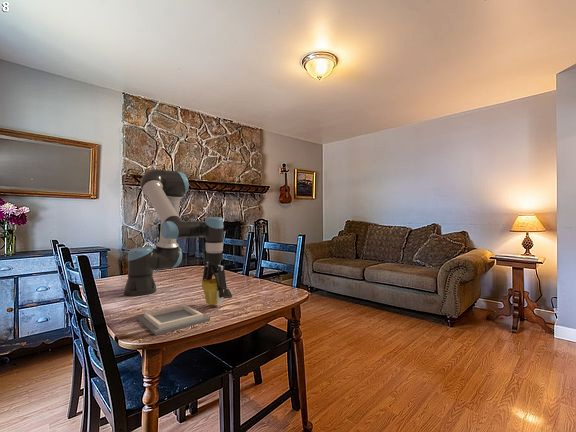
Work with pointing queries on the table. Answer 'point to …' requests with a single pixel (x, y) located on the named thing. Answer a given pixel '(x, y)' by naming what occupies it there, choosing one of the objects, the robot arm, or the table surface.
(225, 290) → the phone
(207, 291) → the plant pot
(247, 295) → the table surface
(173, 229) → the robot arm
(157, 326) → the board
